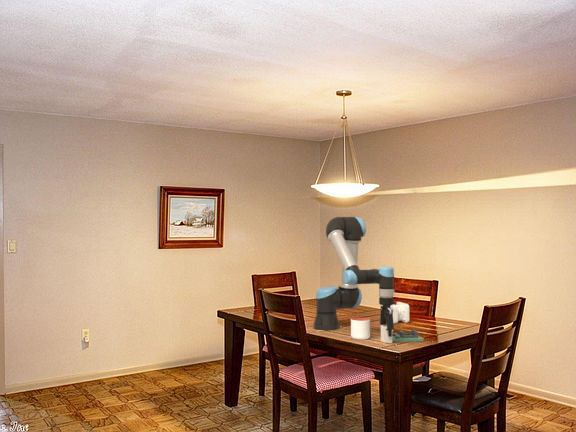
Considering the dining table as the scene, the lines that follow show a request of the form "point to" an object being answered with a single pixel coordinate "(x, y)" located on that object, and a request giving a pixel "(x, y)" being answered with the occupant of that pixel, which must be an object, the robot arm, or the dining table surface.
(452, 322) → the dining table surface
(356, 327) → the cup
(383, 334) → the plug
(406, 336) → the board
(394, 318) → the cable organizer
